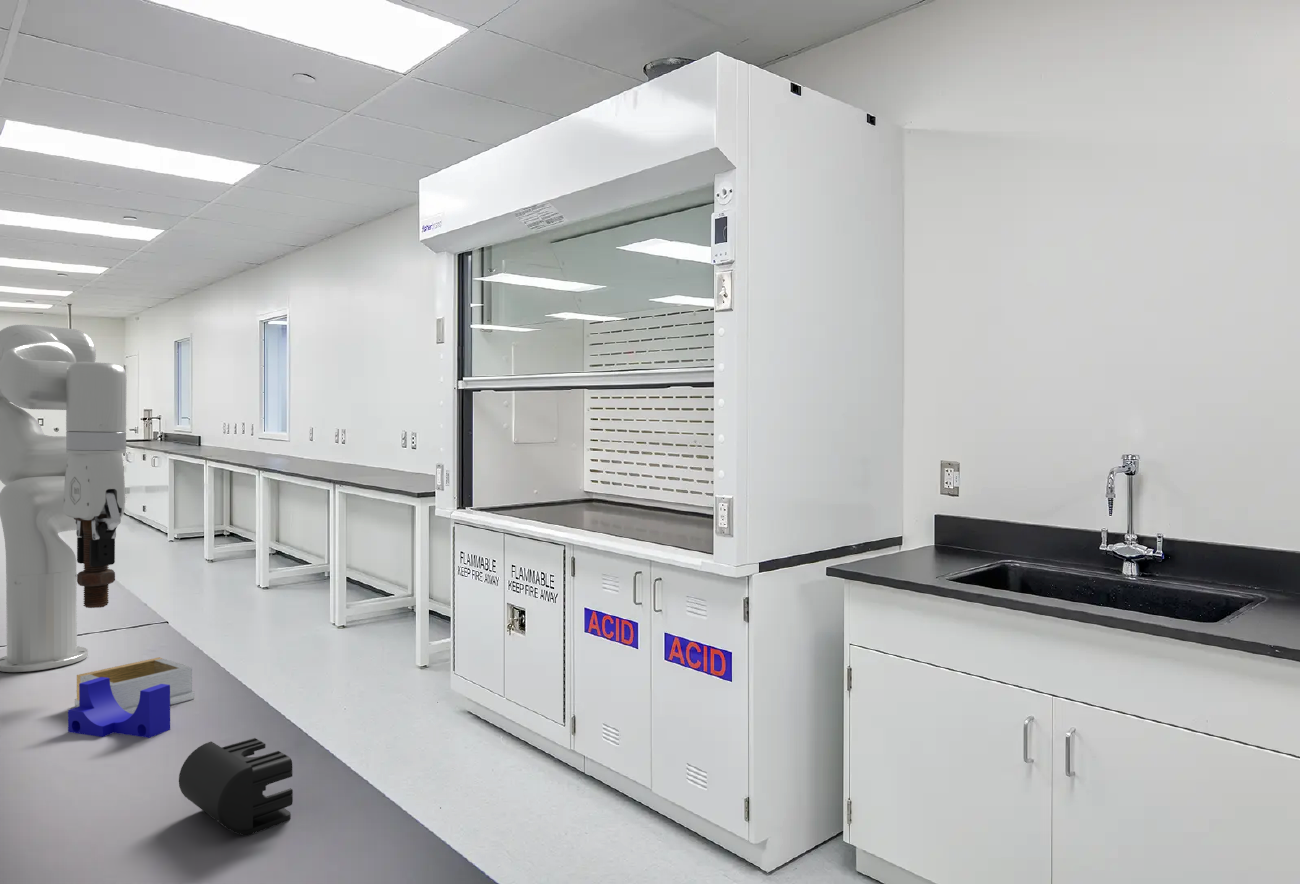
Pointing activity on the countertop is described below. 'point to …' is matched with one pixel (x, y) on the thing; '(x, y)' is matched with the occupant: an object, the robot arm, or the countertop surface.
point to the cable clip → (119, 711)
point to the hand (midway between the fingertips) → (95, 562)
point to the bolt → (94, 573)
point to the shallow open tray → (144, 681)
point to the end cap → (238, 785)
